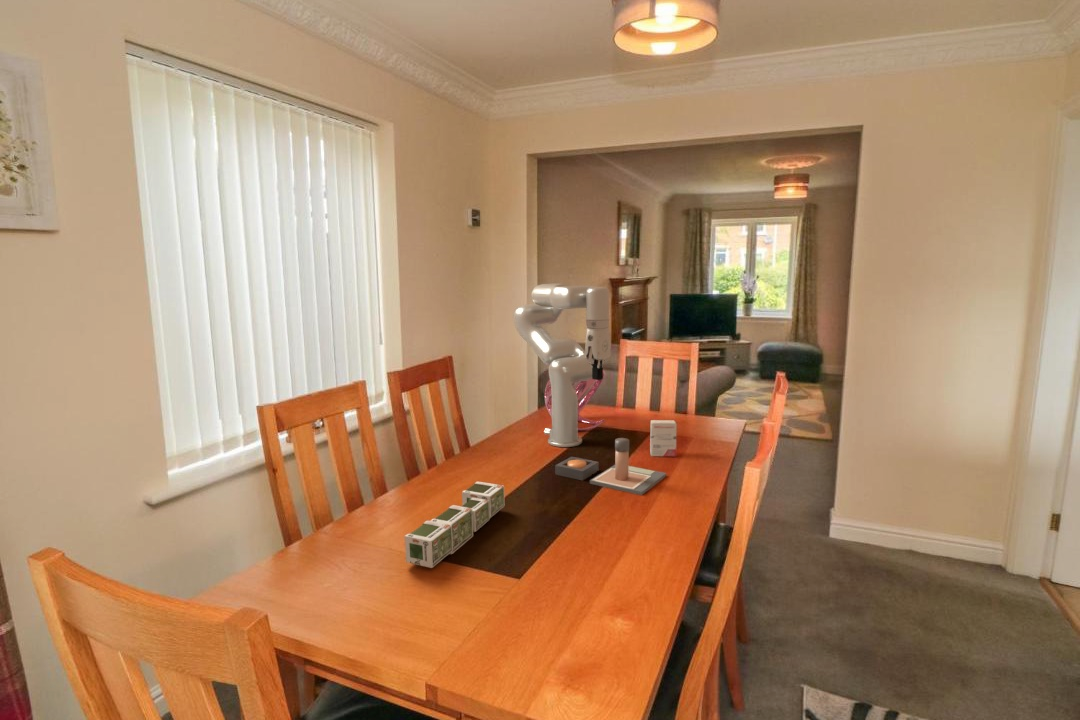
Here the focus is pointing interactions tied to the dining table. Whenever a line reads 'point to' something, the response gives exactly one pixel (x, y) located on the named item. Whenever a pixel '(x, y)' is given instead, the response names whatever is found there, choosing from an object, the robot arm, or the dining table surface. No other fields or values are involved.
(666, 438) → the ink box
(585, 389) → the spiral basket
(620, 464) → the marker
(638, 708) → the dining table surface
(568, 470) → the button housing
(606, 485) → the picture board
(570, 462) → the button
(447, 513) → the row of white-green cartons
